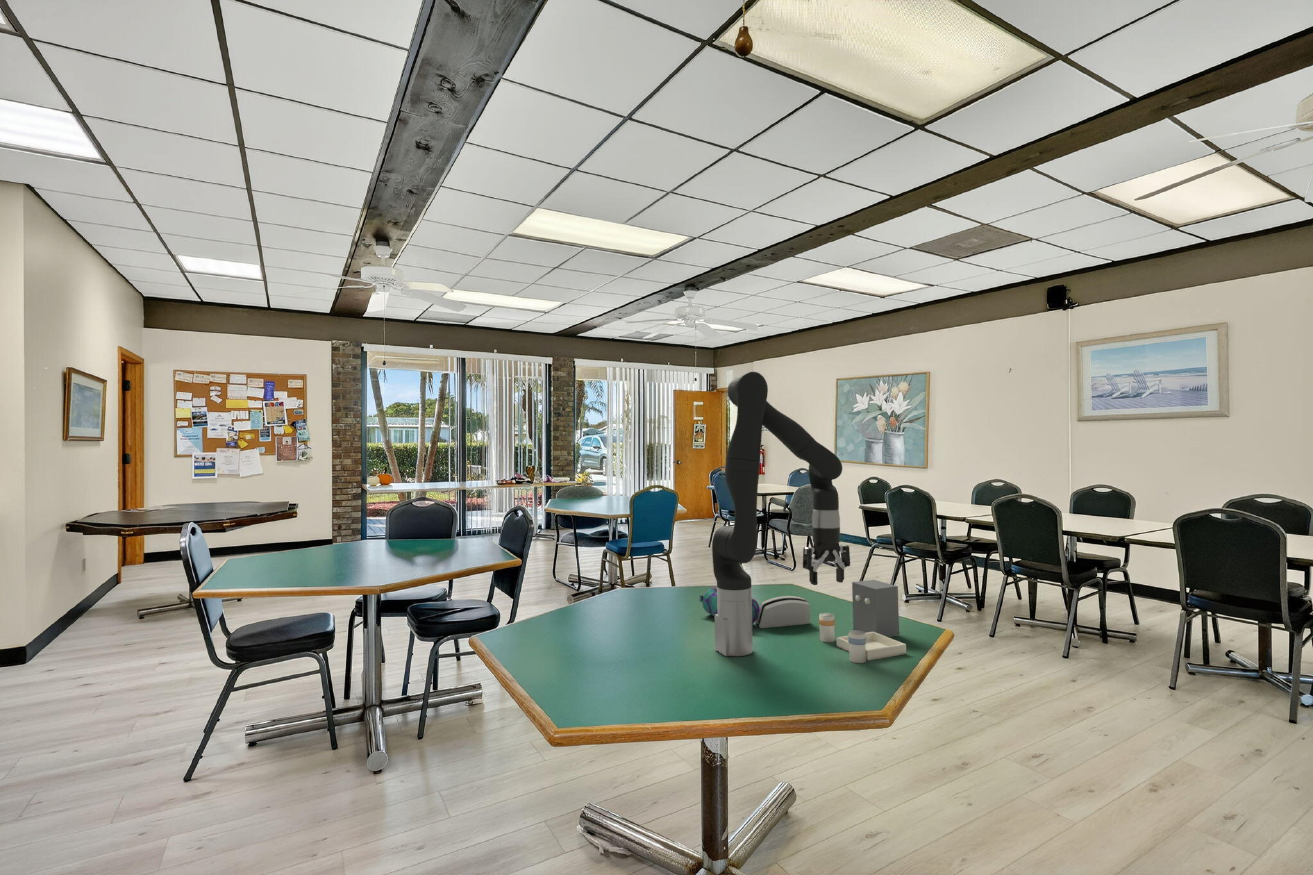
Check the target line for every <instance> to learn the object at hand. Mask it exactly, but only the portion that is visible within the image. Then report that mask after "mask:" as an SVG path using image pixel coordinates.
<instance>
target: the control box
mask: <svg viewBox="0 0 1313 875" xmlns="http://www.w3.org/2000/svg"><path fill="white" fill-rule="evenodd" d="M851 590H852V591H851V592H852V593H851V594H852V625H853V626H852V629H853V630H858V631H863V632H865V633H868V632H875V633H878V634H881V635H883V636H886V637H888V638H892V637H899V636H900V619H899V618H900V616H899V614H900V613H899V611H900V610H899V586H898V585H894V584H891V583H889V582H888V583H887V582H883V581H879V580H875V579H869V580H861V581H860V580H859V581H852V582H851Z"/></svg>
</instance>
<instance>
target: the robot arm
mask: <svg viewBox="0 0 1313 875" xmlns="http://www.w3.org/2000/svg"><path fill="white" fill-rule="evenodd" d="M726 390H727V392H726V393H727V397H728V399H729V400H730V402H731V403H732V404H733V405H734V406H735V407H737V410H736V411H737V412H736V413H737V415H736V421H735V422H736V423H735V426H734V430H733V432H732V434H731V437H730V440H729V443H728V447H727V452H726V456H725V467H724V468H725V469H724V478H725V483H726V486H727V489H728V492H729V494H730V496H731V500H732V503H733V507H734V508H733V509H734V523H733V526H732V525H723V526H720V527H718V528H717V529H716V531H715V532H714V534H713V538H712V543H711V552H712V566H713V575H714V578H715V580H716V587H717V610H718V614H715V617H714V646H715V647H714V648H715V649H716V652H718V651H719V652H718V653H720V654H721V655H723V656H724V657H743V656H744V657H745V656H748V655H751V654H752V653H753V651H754V649H753V648H754V641H753V634H754V633H753V625H752V598H753V597H752V596H753V595H752V592H753V591H752V578H751V575H750V574H748V573H747V572H746V570H744V569H743V568H742V566H741V564H747V563H749V562H751V561H752V560H753V558H754V557H755V555H756V551H757V546H758V519H757V518H758V517H757V516H758V514H757V513H758V512H757V511H758V509H757V508H758V507H757V506H758V493H759V492H758V491H759V489H758V488H759V480H760V467H761V450H762V449H761V448H762V438H763V437H762V436H763V427H764V428H766V429H767V431H769V432H770V433H771V434H772V435H774V436H775V437H776V438H777V439H778V441H779V442H780V443H782V444H783V445H784V446H785V447H786V449H788V450H789V451H790V452H791V453H792V454H793V455H794V456H795V457H797V458H798V459H800V460H802V461H804V462H806V463H808V476H809V477H808V478H809V483H810V488H811V491H812V518H811V521H812V523H811V524H812V526H811V527H812V542H813V546H812V547H808V546H804V547H803V549H802V551H803V552H802V568H803V569H806V570H808V571H809V572H808V574H809V575H808V576H809V583H810V584H811V585H814V586H818V569H819V567H820V566H821V565H822V564H823V563H828V562H830V563H834V566H835V568H836V569H835V575H836V576H835V580H836V582H837V583H844V580H845V569H846V568H848V567H850V566H851V555H850V554H851V553H850V546H849V545H848V544H847V545H846V544H841V545H840V542H841V516H840V507H839V506H840V504H839V503H840V502H839V501H840V500H839V499H840V498H839V497H840V496H839V493H838V490H836V489H835V488H834V487H833V486H834V485H833V480H837V479H838V478H839V477H840V476H841V475H842V473H843V465H842V464H843V463H842V461H841V460H840V458H839V457H838V456H837V455H836V454H835V453H834V452H832V451H831V450H830V449H828V448H827V447H825V446H824V445H823V444H821V443H819V442H818V441H817V440H816V439H815V438H814V437H813V436H812V435H811V434H810V433H809V432H808V431H807V430H806V429H805V428H804V427H803V426H801V424H799V423H798V422H796V421H795V420H794V419H792V418H791V417H789V416H787V415H786V414H784V413H782V411H779V410H778V409H777V408H775V407H774V406H773V405H772V404H771V403H770V402H769V401H768V400H767V398H768V393H769V388H768V382H767V381H766V379H765V377H764V376H763V375H762V374H761V373H760V372H757V371H747V372H745V373H742V374H740V375H739V376H736V377H735V378H733V379H732V380H731V381H730V382H729V384H728V386H727V389H726ZM839 554H840V555H839ZM715 649H714V650H715Z"/></svg>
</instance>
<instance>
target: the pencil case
mask: <svg viewBox="0 0 1313 875" xmlns="http://www.w3.org/2000/svg"><path fill="white" fill-rule="evenodd" d="M698 600H699V602H700V603H702V608H703V609H704V611H705V612H706V613H708V614H709V615H711V616H713V617H714V618H715V614H718V610H717V585H715V586H712V587H710V588H709V589H707V590H706V591H705V593H704V594H703V595H699V599H698ZM760 607H761V606H760V604H759V603H758V601H757V600H756V599H754V598H753V597H752V626H753V625H754V624H755V621H756V620H757V618H758V614H759V610H760Z"/></svg>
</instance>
